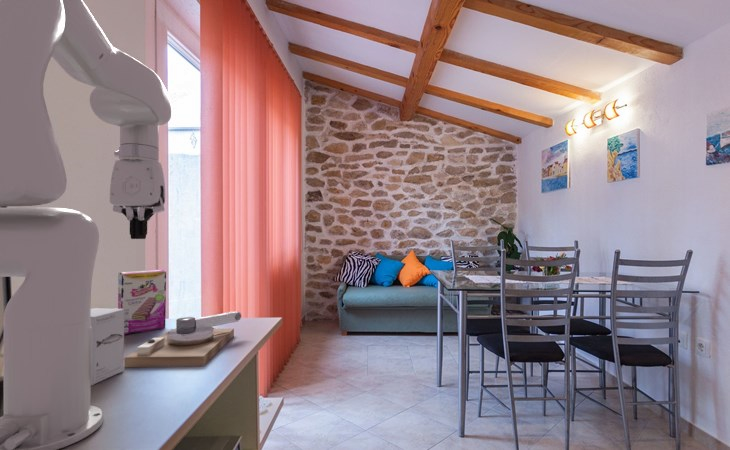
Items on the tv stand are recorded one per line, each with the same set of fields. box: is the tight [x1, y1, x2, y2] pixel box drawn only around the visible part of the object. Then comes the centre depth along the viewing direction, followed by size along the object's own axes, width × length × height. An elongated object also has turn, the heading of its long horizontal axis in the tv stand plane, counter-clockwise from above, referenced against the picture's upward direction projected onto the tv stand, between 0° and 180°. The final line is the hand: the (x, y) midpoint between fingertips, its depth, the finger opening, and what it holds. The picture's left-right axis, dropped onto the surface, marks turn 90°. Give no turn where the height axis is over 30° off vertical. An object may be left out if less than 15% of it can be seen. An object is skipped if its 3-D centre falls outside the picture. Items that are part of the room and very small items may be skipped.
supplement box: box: [91, 307, 125, 386], centre depth 76 cm, size 7×7×13 cm
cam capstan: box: [167, 311, 242, 346], centre depth 96 cm, size 18×10×5 cm, turn 138°
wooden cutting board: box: [124, 328, 235, 368], centre depth 93 cm, size 22×16×4 cm
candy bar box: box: [117, 269, 167, 336], centre depth 110 cm, size 11×5×16 cm, turn 133°
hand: (138, 238), depth 87 cm, fingers closed
